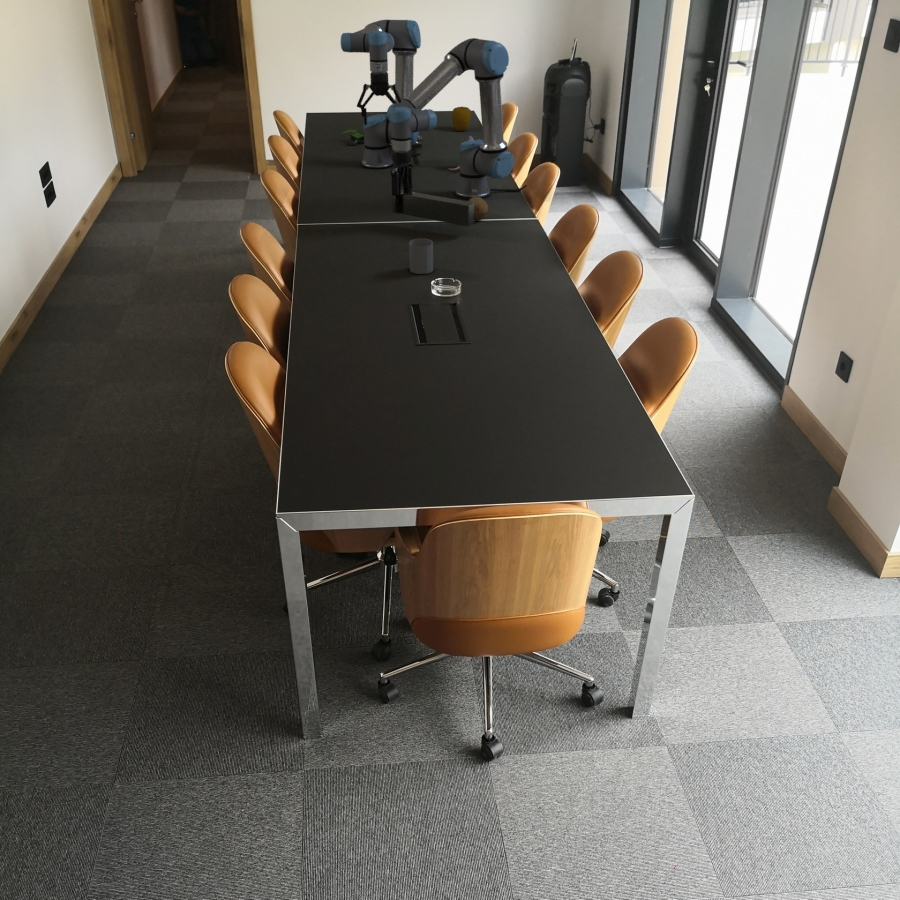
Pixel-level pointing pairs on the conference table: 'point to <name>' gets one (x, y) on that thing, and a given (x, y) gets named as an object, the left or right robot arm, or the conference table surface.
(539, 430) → the conference table surface
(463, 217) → the bar
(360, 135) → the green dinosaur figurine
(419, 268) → the cup
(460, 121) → the yellow bell pepper
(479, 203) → the potato
